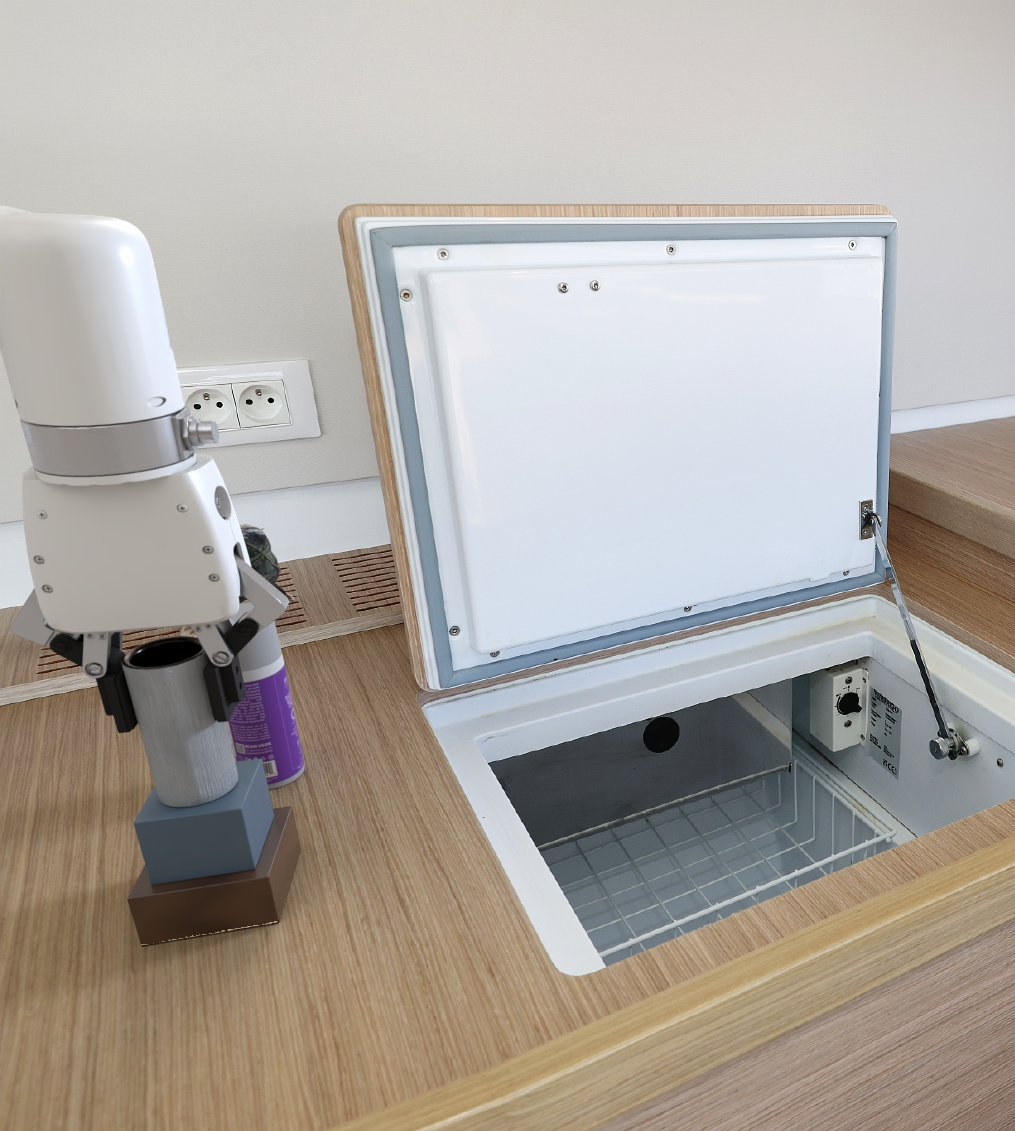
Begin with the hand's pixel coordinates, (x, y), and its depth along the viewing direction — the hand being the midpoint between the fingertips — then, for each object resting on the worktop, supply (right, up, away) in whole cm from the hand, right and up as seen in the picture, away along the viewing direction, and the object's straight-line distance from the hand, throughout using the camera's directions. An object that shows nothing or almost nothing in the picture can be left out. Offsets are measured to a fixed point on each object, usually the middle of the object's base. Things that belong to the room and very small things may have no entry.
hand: (180, 713), depth 61 cm
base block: (-1, -14, +6) cm, 15 cm away
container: (-5, -8, +19) cm, 21 cm away
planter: (0, -5, +2) cm, 6 cm away
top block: (0, -10, +4) cm, 11 cm away
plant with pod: (-24, +2, +42) cm, 48 cm away
